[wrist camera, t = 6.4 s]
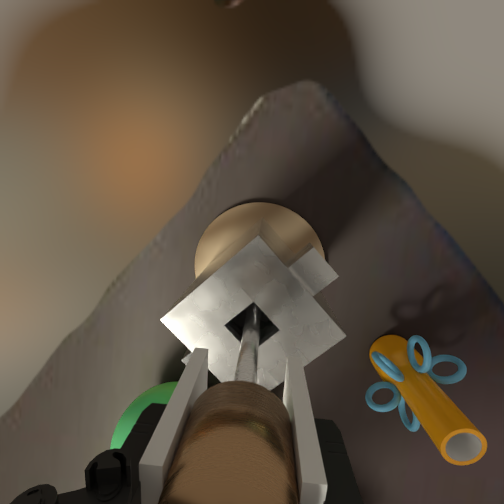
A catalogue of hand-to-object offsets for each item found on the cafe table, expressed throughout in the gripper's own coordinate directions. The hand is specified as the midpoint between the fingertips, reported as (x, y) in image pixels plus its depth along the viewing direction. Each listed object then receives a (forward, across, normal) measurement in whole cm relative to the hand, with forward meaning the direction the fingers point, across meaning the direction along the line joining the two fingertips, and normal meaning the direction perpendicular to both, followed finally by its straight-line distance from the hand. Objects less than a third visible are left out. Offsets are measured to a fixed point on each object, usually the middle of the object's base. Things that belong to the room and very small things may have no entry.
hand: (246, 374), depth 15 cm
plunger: (+12, 0, 0) cm, 12 cm away
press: (+22, 0, 0) cm, 22 cm away
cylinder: (+23, -20, +11) cm, 33 cm away
